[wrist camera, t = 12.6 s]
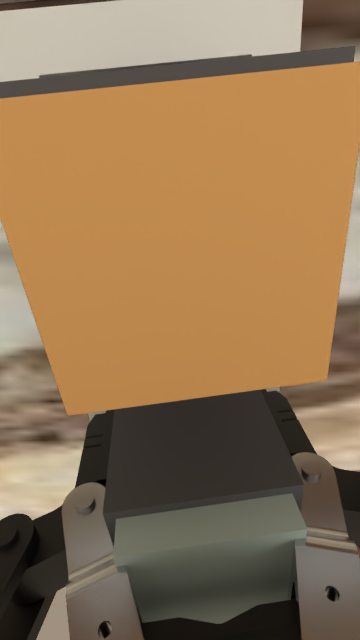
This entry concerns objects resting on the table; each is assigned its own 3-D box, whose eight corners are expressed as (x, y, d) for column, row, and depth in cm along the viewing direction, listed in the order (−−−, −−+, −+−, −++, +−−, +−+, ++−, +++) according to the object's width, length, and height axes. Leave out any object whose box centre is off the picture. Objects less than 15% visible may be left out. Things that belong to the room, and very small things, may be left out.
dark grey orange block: (82, 121, 11) (-77, 72, 3) (219, 107, 11) (401, 24, 3) (109, 255, 13) (55, 430, 5) (224, 241, 13) (340, 390, 5)
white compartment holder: (11, 45, 11) (-32, 14, 8) (266, 21, 11) (304, -17, 8) (112, 431, 19) (107, 479, 16) (257, 411, 19) (275, 455, 16)
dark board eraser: (123, 329, 15) (98, 553, 7) (226, 316, 15) (320, 519, 7) (139, 407, 17) (133, 647, 9) (229, 395, 17) (302, 620, 9)
